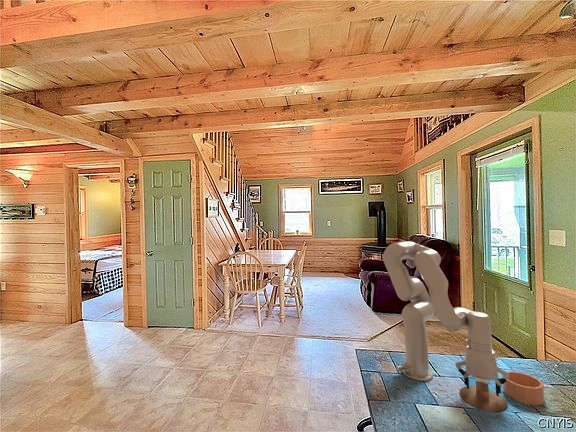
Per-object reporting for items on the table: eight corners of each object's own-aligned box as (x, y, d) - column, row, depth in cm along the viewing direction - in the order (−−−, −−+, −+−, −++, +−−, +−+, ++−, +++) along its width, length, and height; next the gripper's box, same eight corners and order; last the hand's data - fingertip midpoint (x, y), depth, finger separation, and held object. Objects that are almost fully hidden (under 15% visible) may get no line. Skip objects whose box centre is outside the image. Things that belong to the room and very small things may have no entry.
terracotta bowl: (527, 407, 102) (526, 390, 102) (496, 388, 114) (495, 373, 114) (552, 402, 104) (551, 385, 105) (519, 384, 116) (519, 369, 116)
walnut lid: (459, 404, 105) (458, 385, 106) (460, 384, 118) (459, 367, 118) (509, 418, 97) (508, 397, 97) (505, 395, 110) (504, 377, 110)
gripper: (453, 344, 110) (455, 389, 109) (509, 354, 100) (512, 403, 100) (454, 337, 116) (456, 379, 115) (507, 346, 107) (509, 392, 106)
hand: (482, 390), depth 108 cm, fingers open, 9 cm apart
